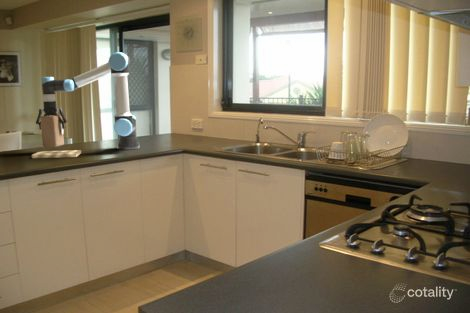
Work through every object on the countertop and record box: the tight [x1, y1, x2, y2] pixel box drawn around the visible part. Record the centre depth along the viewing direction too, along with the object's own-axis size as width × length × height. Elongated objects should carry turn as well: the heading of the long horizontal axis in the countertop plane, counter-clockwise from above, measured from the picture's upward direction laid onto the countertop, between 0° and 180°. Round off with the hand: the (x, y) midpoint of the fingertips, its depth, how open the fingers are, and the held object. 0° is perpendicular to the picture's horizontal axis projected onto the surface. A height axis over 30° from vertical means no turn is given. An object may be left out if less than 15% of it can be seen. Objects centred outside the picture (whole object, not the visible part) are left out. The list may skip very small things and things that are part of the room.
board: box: [31, 149, 82, 159], centre depth 287 cm, size 26×16×2 cm, turn 99°
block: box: [40, 114, 65, 148], centre depth 298 cm, size 10×10×20 cm
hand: (52, 134), depth 299 cm, fingers closed on block, 12 cm apart
